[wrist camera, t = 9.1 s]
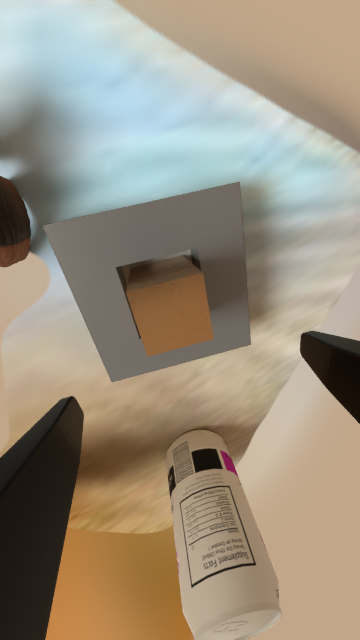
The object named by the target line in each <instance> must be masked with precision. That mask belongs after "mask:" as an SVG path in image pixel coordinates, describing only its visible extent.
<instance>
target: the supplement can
mask: <svg viewBox="0 0 360 640" xmlns="http://www.w3.org/2000/svg"><path fill="white" fill-rule="evenodd" d="M166 463H167V472H168V481H169V490H170V499H171V508H172V518H173V527H174V536H175V545H176V554H177V563H178V572H179V582H180V591H181V600H182V609H183V614H184V616H185V618H186V620H187V622H188V625H189V627H190V629H191V631H192V633H193V635H194V640H246V639H249V638H251V637H254V636H256V635H258V634H260V633H262V632H263V631H266V630H267V629H269V628H270V627H272V626H273V625H275V624H276V623H277V622H278V621H279V620H280V619H281V615H282V612H281V609H280V607H279V589H278V579H277V576H276V574H275V571H274V569H273V566H272V563H271V561H270V558H269V556H268V553H267V550H266V548H265V545H264V543H263V540H262V537H261V535H260V532H259V529H258V527H257V524H256V522H255V519H254V517H253V514H252V511H251V509H250V506H249V504H248V501H247V498H246V496H245V493H244V490H243V488H242V485H241V483H240V480H239V477H238V475H237V472H236V470H235V467H234V464H233V462H232V459H231V456H230V454H229V451H228V449H227V446H226V443H225V441H224V440H223V438H222V437H221V436H220V435H218V434H216V433H214V432H211V431H209V430H201V429H200V430H193V431H190V432H187V433H185V434H182V435H181V436H180V437H178V438H177V439H176V440H175V441H174V442H173V443H172V445H171V446H170V448H169V449H168V450H167V455H166Z"/></svg>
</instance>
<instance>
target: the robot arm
mask: <svg viewBox="0 0 360 640" xmlns="http://www.w3.org/2000/svg"><path fill="white" fill-rule="evenodd" d="M300 353H301V355H302V357H303V358H304V359H305V361H306V362H307V363H308V365H309V366H310V367H311V369H312V370H313V371H314V373H315V374H316V375H317V377H318V378H319V379H320V380H321V382H322V383H323V384H324V386H326V388H327V389H328V390H329V391H330V393H331V394H332V395H333V396H334V397H335V398H336V399H337V400H338V401H339V402H340V403H341V404H342V405H343V406H344V408H345V409H346V410H347V411H348V412H349V413H350V414H351V415H352V416H353V417H354V418H355V419H356V420H357V422H358V423H359V424H360V341H357V340H352V339H348V338H343V337H339V336H335V335H330V334H325V333H320V332H316V331H309V332H305V333H303V334H302V335H301V342H300ZM83 421H84V414H83V411H82V409H81V407H80V405H79V404H78V402H77V400H76V398H75V397H73V396H70V397H66V398H63V399H61V400H60V401H59V402H58V403H57V404H55V405H54V406H53V407H52V408H51V409H50V410H49V411H48V412H47V413H46V414H45V415H44V416H43V417H42V418H41V419H40V420H39V421H38V422H37V423H36V424H35V425H34V426H33V427H32V428H31V429H30V430H29V431H28V432H27V433H26V434H24V435H23V436H22V437H21V438H20V439H19V440H18V441H17V442H16V443H15V444H14V445H13V446H12V447H11V448H10V449H9V450H8V451H7V452H6V453H5V454H4V455H3V456H2V457H1V458H0V640H45V638H46V633H47V628H48V623H49V618H50V612H51V606H52V602H53V597H54V592H55V586H56V581H57V576H58V571H59V566H60V561H61V556H62V549H63V545H64V540H65V535H66V530H67V524H68V519H69V514H70V509H71V504H72V499H73V493H74V488H75V483H76V478H77V473H78V468H79V462H80V454H81V444H82V432H83Z"/></svg>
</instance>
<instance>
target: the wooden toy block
mask: <svg viewBox="0 0 360 640" xmlns="http://www.w3.org/2000/svg"><path fill="white" fill-rule="evenodd" d="M126 294H127V297H128V300H129V303H130V306H131V309H132V312H133V315H134V318H135V321H136V324H137V327H138V330H139V333H140V336H141V339H142V342H143V345H144V348H145V351H146V354H147V357H149V356H153V355H156V354H160V353H164V352H167V351H171V350H175V349H179V348H182V347H186V346H190V345H193V344H197V343H201V342H204V341H208V340H212V339H214V337H213V331H212V325H211V319H210V312H209V306H208V300H207V294H206V288H205V281H204V275H203V272H202V271H200V270H199V269H198V268H197V267H195V266H194V265H193V264H192V263H191V262H189V261H188V260H187V259H186V258H185V257H183V256H178V257H173V258H169V259H165V260H161V261H157V262H153V263H149V264H145V265H141V266H136V267H132V268H131V269H130V274H129V279H128V284H127V289H126Z"/></svg>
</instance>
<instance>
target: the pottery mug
mask: <svg viewBox="0 0 360 640" xmlns="http://www.w3.org/2000/svg"><path fill="white" fill-rule="evenodd" d="M30 237H31V230H30V220H29V217H28V214H27V209H26V207H25V204H24V201H23V200H22V198H21V196H20V195H19V193H18V191H17V189H16V188H15V187H14V185H13V184H12V183H11V181H10V180H8V179H6V178H3V177H1V176H0V266H1V267H8V266H10V265H12V264H14V263H17V262H19V261H22V260H24V259H25V258H26V257H27V255H28V253H29V249H30V241H31V239H30Z"/></svg>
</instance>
